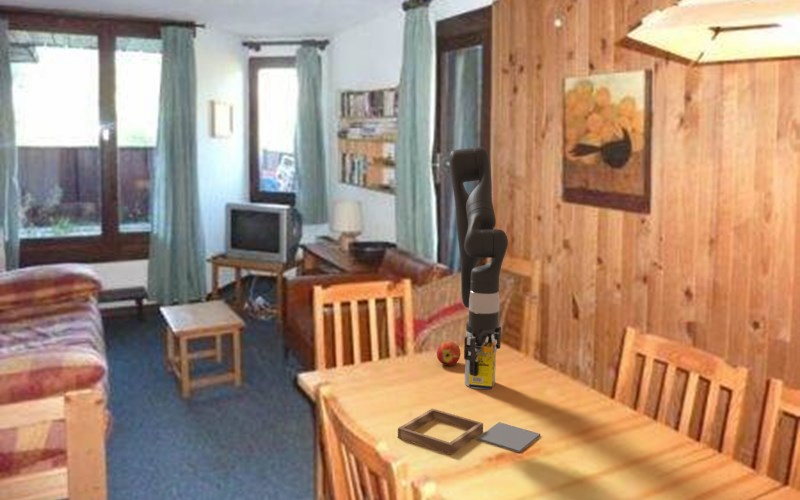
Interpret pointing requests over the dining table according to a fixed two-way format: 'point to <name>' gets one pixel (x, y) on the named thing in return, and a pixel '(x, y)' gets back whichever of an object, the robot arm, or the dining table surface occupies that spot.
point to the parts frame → (437, 444)
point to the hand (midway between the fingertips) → (482, 370)
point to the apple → (448, 353)
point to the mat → (508, 437)
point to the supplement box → (484, 368)
